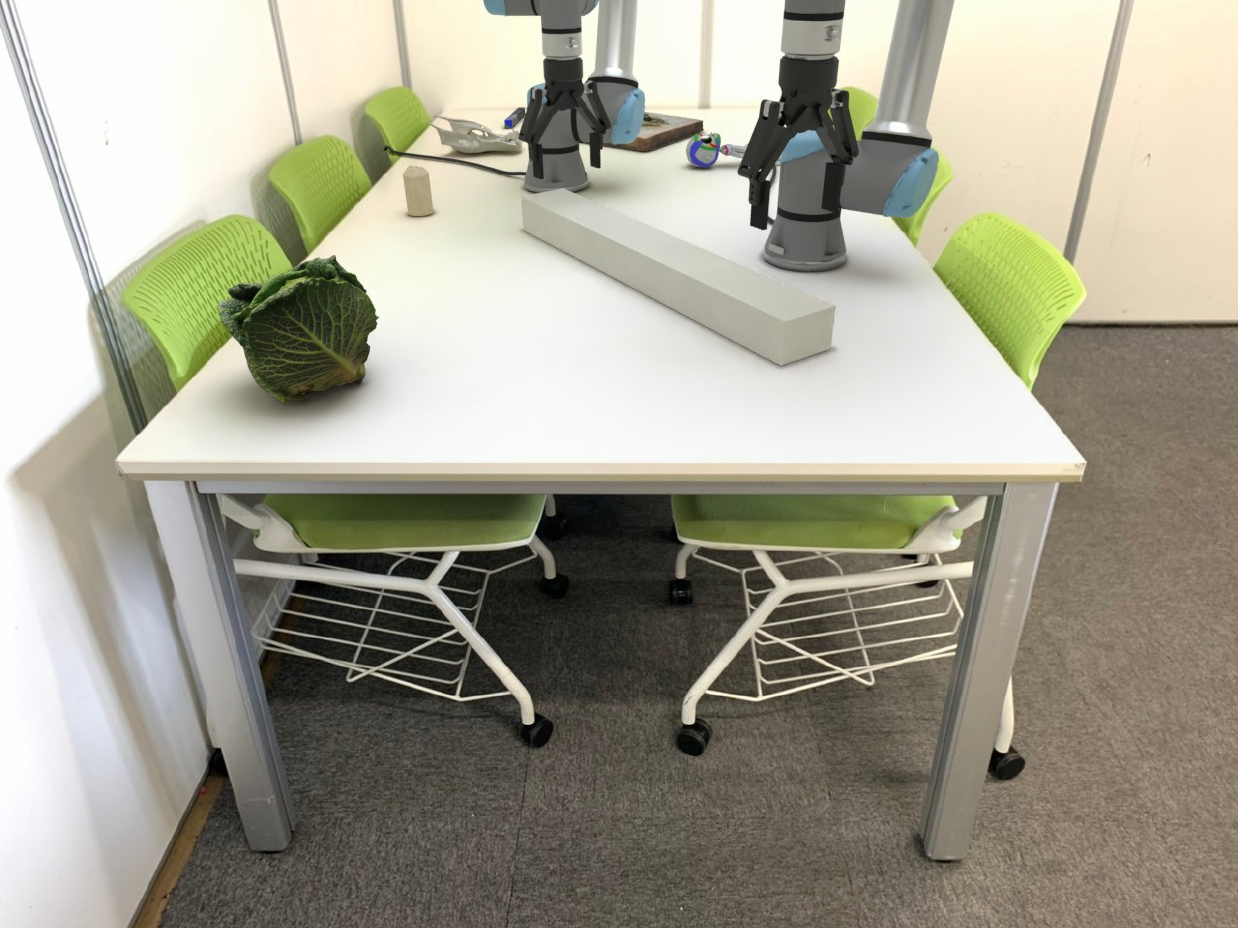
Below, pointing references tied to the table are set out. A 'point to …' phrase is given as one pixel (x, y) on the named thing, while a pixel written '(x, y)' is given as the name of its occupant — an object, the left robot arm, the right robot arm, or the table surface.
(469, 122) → the anatomical model
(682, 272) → the light grey rectangular bar
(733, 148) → the toy
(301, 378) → the vegetable
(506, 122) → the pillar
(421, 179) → the candle
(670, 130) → the plaque
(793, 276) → the table surface
